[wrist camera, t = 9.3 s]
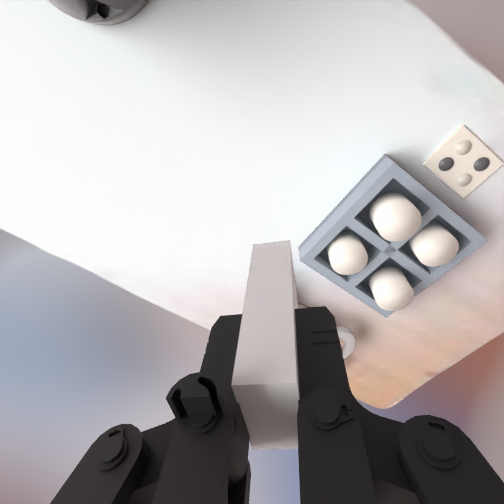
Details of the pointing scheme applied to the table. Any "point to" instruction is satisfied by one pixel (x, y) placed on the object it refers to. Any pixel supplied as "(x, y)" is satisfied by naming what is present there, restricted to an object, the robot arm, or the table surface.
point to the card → (463, 162)
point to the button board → (379, 249)
